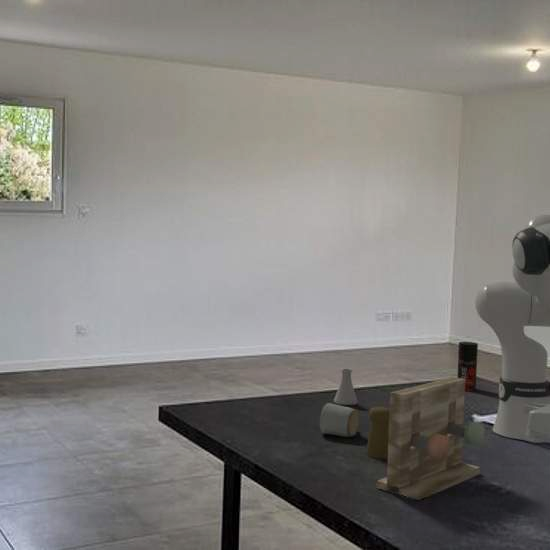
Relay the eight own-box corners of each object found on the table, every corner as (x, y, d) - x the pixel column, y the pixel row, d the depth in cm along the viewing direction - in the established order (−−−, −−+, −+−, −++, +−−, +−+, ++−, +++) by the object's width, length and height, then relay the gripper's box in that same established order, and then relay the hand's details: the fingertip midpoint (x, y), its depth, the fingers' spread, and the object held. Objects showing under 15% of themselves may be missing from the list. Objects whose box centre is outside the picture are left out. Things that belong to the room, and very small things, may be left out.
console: (479, 474, 172) (484, 382, 171) (418, 500, 155) (422, 399, 153) (439, 463, 179) (443, 375, 178) (376, 487, 162) (379, 390, 160)
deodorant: (475, 387, 262) (477, 342, 261) (475, 391, 256) (477, 345, 255) (457, 386, 263) (459, 341, 262) (456, 390, 257) (458, 344, 256)
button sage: (484, 443, 168) (485, 421, 168) (473, 447, 165) (474, 425, 165) (454, 436, 173) (455, 415, 173) (443, 440, 170) (444, 419, 169)
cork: (364, 450, 188) (366, 404, 187) (390, 451, 188) (392, 405, 187) (366, 458, 182) (368, 410, 181) (393, 458, 182) (395, 411, 181)
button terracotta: (449, 456, 158) (450, 434, 158) (437, 461, 155) (438, 438, 154) (418, 448, 163) (419, 426, 163) (406, 453, 160) (407, 430, 159)
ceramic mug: (349, 441, 195) (350, 410, 195) (318, 436, 199) (319, 405, 198) (364, 431, 205) (365, 402, 204) (334, 427, 208) (335, 398, 208)
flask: (334, 399, 240) (335, 366, 239) (358, 401, 239) (359, 367, 238) (332, 405, 232) (333, 371, 232) (357, 406, 231) (358, 372, 231)
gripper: (618, 397, 157) (550, 386, 166) (576, 412, 142) (504, 399, 151) (616, 429, 157) (549, 416, 166) (574, 447, 142) (502, 432, 151)
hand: (527, 408), depth 159 cm, fingers closed
